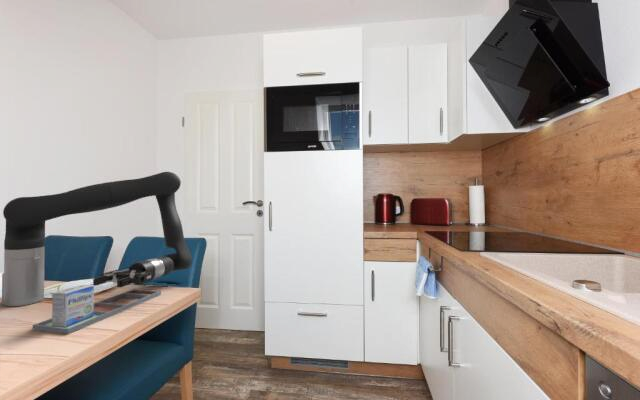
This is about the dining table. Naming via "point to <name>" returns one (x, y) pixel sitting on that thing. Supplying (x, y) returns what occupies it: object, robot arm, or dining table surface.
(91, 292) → the medicine box
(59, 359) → the dining table surface
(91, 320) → the tray
